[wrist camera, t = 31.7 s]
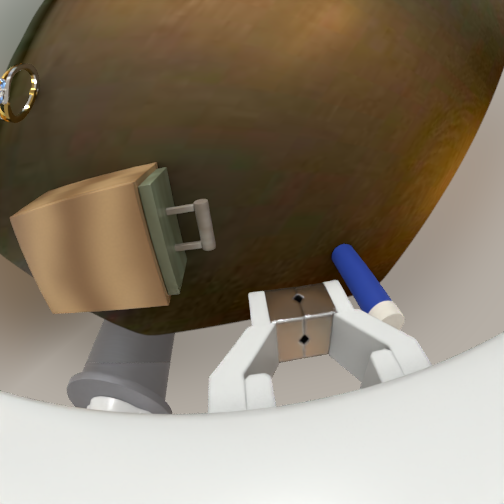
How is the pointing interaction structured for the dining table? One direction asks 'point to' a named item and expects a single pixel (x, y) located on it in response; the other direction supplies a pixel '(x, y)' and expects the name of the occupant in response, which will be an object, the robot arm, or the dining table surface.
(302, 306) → the robot arm
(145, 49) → the dining table surface
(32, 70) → the ring
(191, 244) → the drawer
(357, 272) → the disc
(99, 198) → the cabinet
